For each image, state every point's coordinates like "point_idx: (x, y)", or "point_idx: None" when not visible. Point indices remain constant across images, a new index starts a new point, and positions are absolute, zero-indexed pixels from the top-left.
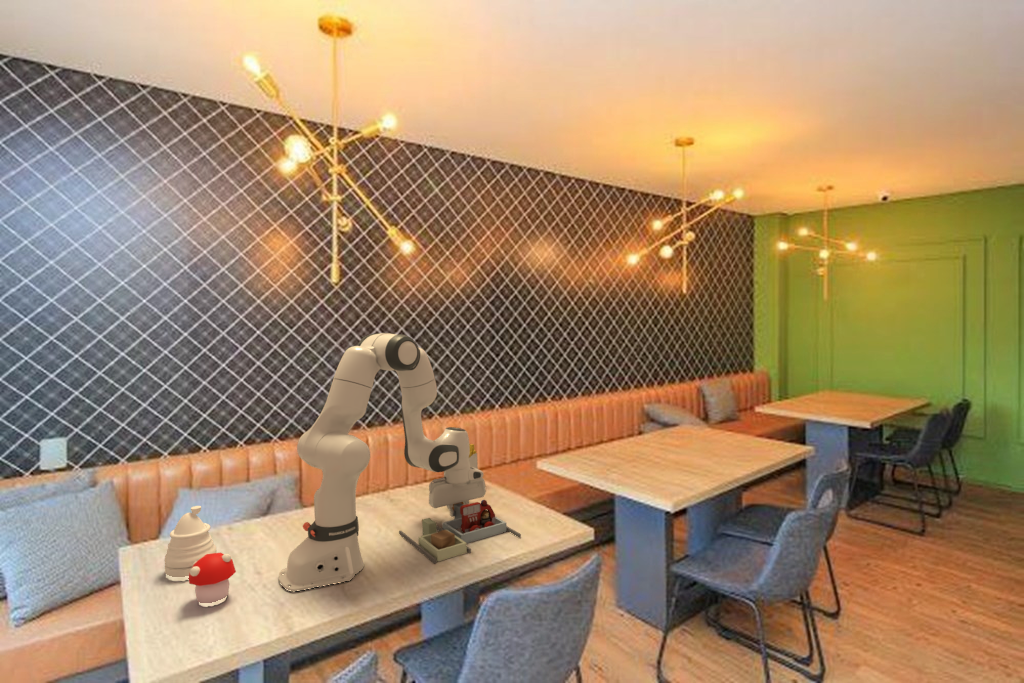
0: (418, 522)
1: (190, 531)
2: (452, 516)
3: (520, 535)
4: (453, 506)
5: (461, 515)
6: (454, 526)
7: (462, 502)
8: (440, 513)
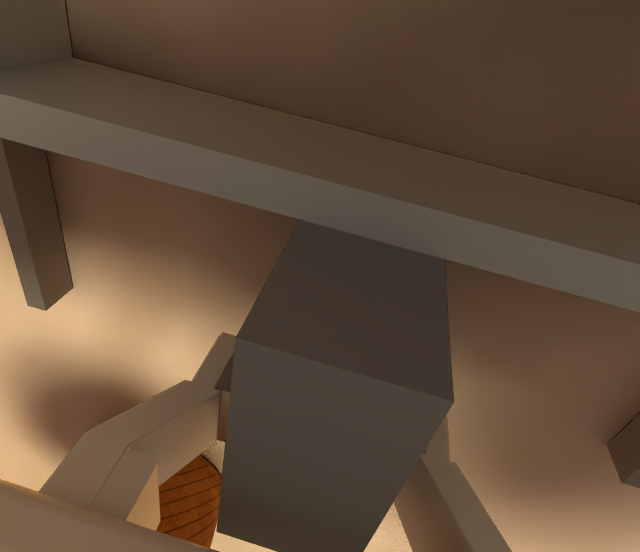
0: (588, 546)
1: None
2: None
3: None
4: (200, 500)
5: (443, 280)
6: (614, 212)
7: None
8: None
